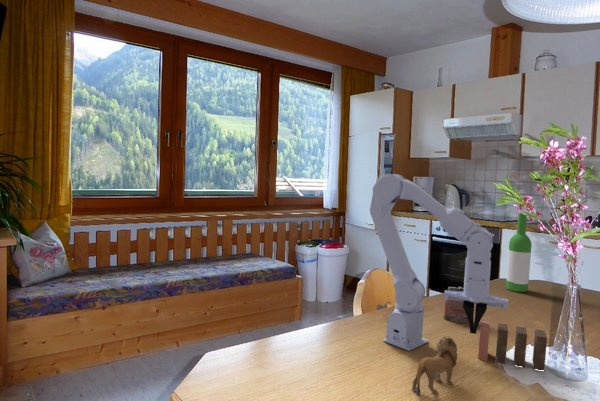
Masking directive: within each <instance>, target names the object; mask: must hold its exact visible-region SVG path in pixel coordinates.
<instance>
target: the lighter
mask: <svg viewBox="0 0 600 401" xmlns="http://www.w3.org/2000/svg"><path fill="white" fill-rule="evenodd" d="M447 291H460V292H463V291H464V287H462V286H458V287H455V286H448V287H447ZM443 314H444V315H443V318H444V319H443V318H442V319H443V320H444V321H451V322H457V323H459V322H461V323H469V322H468V318H467V315H466V312H465V310H464V307H463V302H462V301H455V300H444V313H443Z"/></svg>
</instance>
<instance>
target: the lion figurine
mask: <svg viewBox="0 0 600 401" xmlns="http://www.w3.org/2000/svg"><path fill="white" fill-rule="evenodd" d="M438 341H439V342H436V349H437V354H436V355H435V356H432V357H430V356H428V357H423V358H422V359H421V360H420V361H419V363H418V366H417V371H416V374H415V378H414V379H413V380H412V387H411V390H412V391H413V392H416V396H417V397H420V396H421V387H420V385H421V378H422V376H423V375H424V374H426V377H427V379H428V385H427V386H428V388H429V390H430V392H431V393H432V394H434V395H437V394H439V391H438V390H437V389H436V388H434V383H435V381H436V382H439V381H440V380H441V374H444V373H445V372H446V380H445V381H446V382H445V383H446V384H447V385H451V386H452V385H453V381H452V377H453V373H454V372H453V371H454V370H453V368H454V367H455V366H456V365H457V359H458V349H457V346H458V345H457V343H456V341H454V339H453V338H452V337H450V336H443V337H442V338H441V339H440V340H438Z"/></svg>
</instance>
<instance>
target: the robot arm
mask: <svg viewBox="0 0 600 401" xmlns="http://www.w3.org/2000/svg"><path fill="white" fill-rule="evenodd" d="M399 199H401V200H410V201H413V202H414V203H415V204H418V205H419V206H420V207H421V208H423V209H424V210H425V211H427V212H429V213H430V214H431V215H433V216H434V217H436V218H437V219H438V220H439V226H440V227H441V229H444V231H446V232H447V233H449V235H451V236H453V237H454V238H455V239H456V240H458V241H459V242H461V243H465V245H466V248H467V251H466V252H467V253H466V257H465V264H464V265H465V266H464V277H463V279H464V280H463V288H464V291H463V292H460V291H448V289H447V290H446V289H445V290H444V294H443V300H444V301H445V300H455V301H462V302H463V307H464V310H465V312H466V315H467V318H468V322H467V323H468V325H469V326H468V327H469V334H474V335H476V334H477V331H478V327H479V324H480V323H481V320H482V318H483V316H484V314H485V313H486V311H487V308H488V306H490V307H496V308H502V309H505V310H509V298H502V297H498V296H494V295H490V294H489V293H490V282H491V281H490V280H491V269H492V268H491V266H492V261H491V258H492V252H491V250H492V248H493V246H494V243H493V237H492V234H491V233H490V231H489V230H488V229H487V228H485V227H482V224H480V223H479V222H475V221H473V220H472V219H471V218H469V217H468V216H466V214H465V211H464V210H463V209H459V210H458V209H457V208H454V207H452V208H447V207H446V206H444V205H443V204H441V203H440V202H439V201H438V200H437V199H435V198H434V197H433V196H432V195H430V194H429V193H428V192H426V191H425V190H424V189H423V188H421V187H420V186H419V185H417V184H416V183H414V182H413V181H412V180H409V179H407V178H405V177H404V176H403V175H400V174H399V173H393V174H392V173H385V174H382V175H381V176H379V178H378V179H377V180H376V182H375V183H374V185H373V186H372V196H371V202H370V207H369V214H370V216H371V219H372V222H373V225H374V227H375V230H376V234H377V235H378V239H379V241H380V244H381V247H382V248H383V251H384V255H385V256H386V259H387V262H388V266H389V268H390V271H391V273H392V277H393V279H392V281H393V282H392V283H393V287H394V290H395V293H394V294H395V295H394V301H395V307H394V309H393V311H392V312H390V314H388V317H387V320H386V321H387V322H386V332H385V333H386V334H385V338H383V339H382V340H383V342H385V343H388V344H390V345H393V346H395V347H398V348H401V349H403V350H406V351H411V350H414V349H416V348H418V347H420V346H423V345H425V344H426V343H428V342H430V340H429V339H427V338H424V337H423V331H424V330H423V329H424V313H425V311H424V310H425V307H424V305H423V303H422V300H423V298H425V295H426V288H425V285H424V283H422V282H421V281H420V279H418V277H417V274H416V272H415V271H414V270H413V269H412V266H411V264H410V261H409V258H408V256H407V253H406V250H405V247H404V245H403V243H402V239H401V237H400V234H399V231H398V230H397V227H396V224H395V221H394V218H393V215H392V213H391V212H392V209H393V208H394V206H395V204H396V203H397V201H398V200H399ZM474 314H475V315H474Z"/></svg>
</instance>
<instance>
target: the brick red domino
mask: <svg viewBox="0 0 600 401" xmlns="http://www.w3.org/2000/svg"><path fill="white" fill-rule="evenodd" d="M490 322H491V321H487V320H482V319H481V320H480V329H479V330H480V331H479V342H478V343H479V344H478V354H477V355H478V356H477V360H482V361H486V362H488V354H489V341H490V340H489V339H490V329H491V328H490V326H491V324H490Z"/></svg>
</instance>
